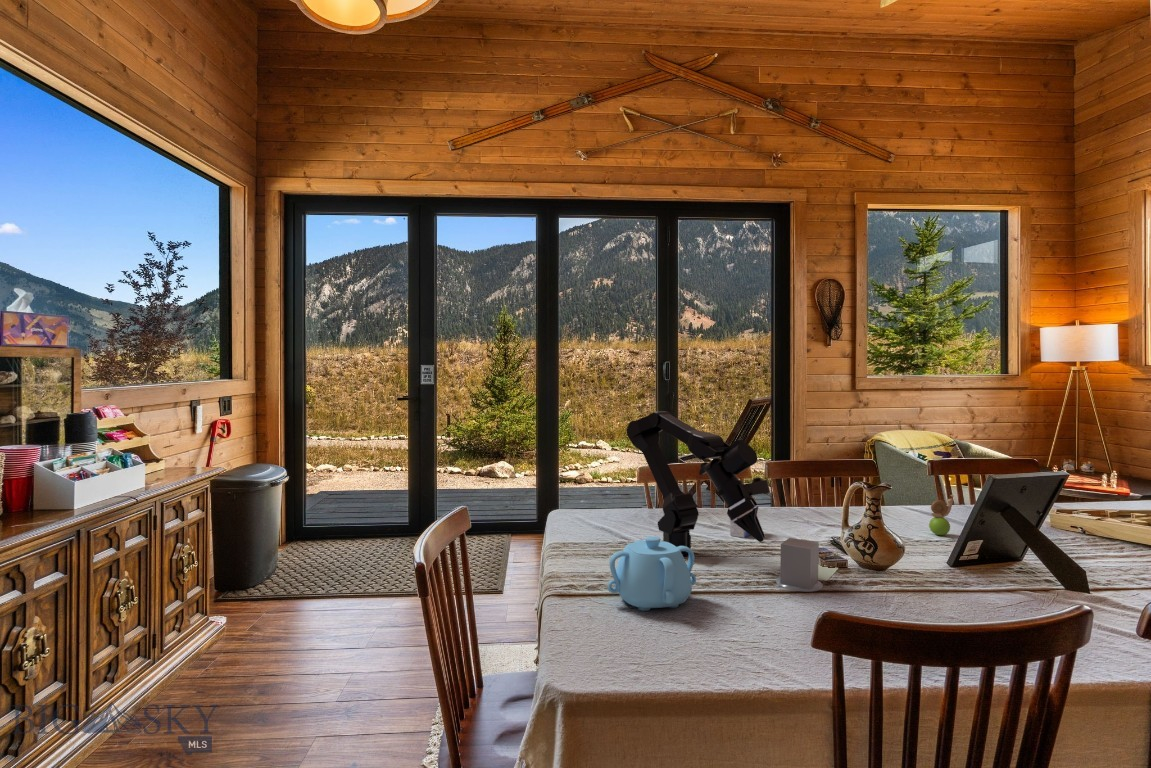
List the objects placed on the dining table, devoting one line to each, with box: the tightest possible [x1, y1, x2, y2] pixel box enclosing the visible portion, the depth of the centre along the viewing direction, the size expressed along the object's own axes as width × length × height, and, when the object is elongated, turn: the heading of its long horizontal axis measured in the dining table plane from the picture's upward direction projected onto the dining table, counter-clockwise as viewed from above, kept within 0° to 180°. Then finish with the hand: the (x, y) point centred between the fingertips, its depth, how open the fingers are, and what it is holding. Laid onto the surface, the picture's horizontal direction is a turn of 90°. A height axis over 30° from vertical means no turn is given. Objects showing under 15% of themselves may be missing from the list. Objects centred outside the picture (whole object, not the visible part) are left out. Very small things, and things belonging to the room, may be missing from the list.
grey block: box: [779, 537, 820, 590], centre depth 145 cm, size 7×7×9 cm
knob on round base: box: [775, 576, 823, 593], centre depth 145 cm, size 10×10×4 cm
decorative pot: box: [606, 535, 697, 612], centre depth 135 cm, size 16×16×14 cm
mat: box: [818, 563, 839, 582], centre depth 155 cm, size 11×11×1 cm
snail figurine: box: [928, 494, 955, 536], centre depth 188 cm, size 5×6×12 cm
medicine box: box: [729, 507, 755, 539], centre depth 188 cm, size 8×4×9 cm, turn 143°
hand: (762, 539), depth 151 cm, fingers open, 9 cm apart
